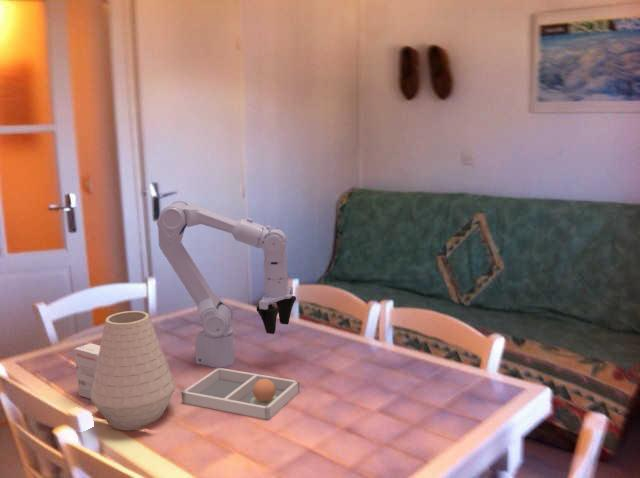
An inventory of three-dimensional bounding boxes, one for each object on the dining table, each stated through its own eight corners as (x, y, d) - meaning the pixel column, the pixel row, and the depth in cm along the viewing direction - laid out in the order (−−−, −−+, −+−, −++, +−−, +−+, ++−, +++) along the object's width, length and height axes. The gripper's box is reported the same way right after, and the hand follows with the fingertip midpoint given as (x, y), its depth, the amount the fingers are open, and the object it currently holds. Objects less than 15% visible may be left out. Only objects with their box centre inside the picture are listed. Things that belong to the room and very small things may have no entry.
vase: (133, 446, 129) (123, 336, 125) (75, 426, 138) (65, 322, 134) (193, 411, 144) (187, 311, 139) (138, 394, 153) (130, 300, 148)
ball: (249, 403, 145) (248, 383, 143) (260, 393, 149) (259, 373, 148) (269, 407, 143) (268, 387, 141) (279, 397, 147) (278, 377, 146)
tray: (182, 406, 146) (181, 392, 146) (218, 381, 160) (218, 367, 159) (268, 424, 137) (267, 408, 137) (299, 395, 151) (299, 381, 150)
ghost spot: (245, 404, 144) (245, 403, 144) (259, 393, 150) (259, 392, 150) (270, 409, 142) (270, 408, 142) (284, 397, 147) (284, 396, 147)
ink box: (119, 395, 153) (115, 348, 150) (102, 403, 149) (97, 355, 146) (94, 388, 157) (90, 341, 155) (77, 395, 153) (72, 348, 151)
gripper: (276, 285, 156) (278, 339, 159) (302, 271, 169) (303, 321, 172) (250, 283, 159) (253, 336, 162) (278, 269, 172) (280, 318, 175)
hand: (277, 328), depth 167 cm, fingers open, 7 cm apart
